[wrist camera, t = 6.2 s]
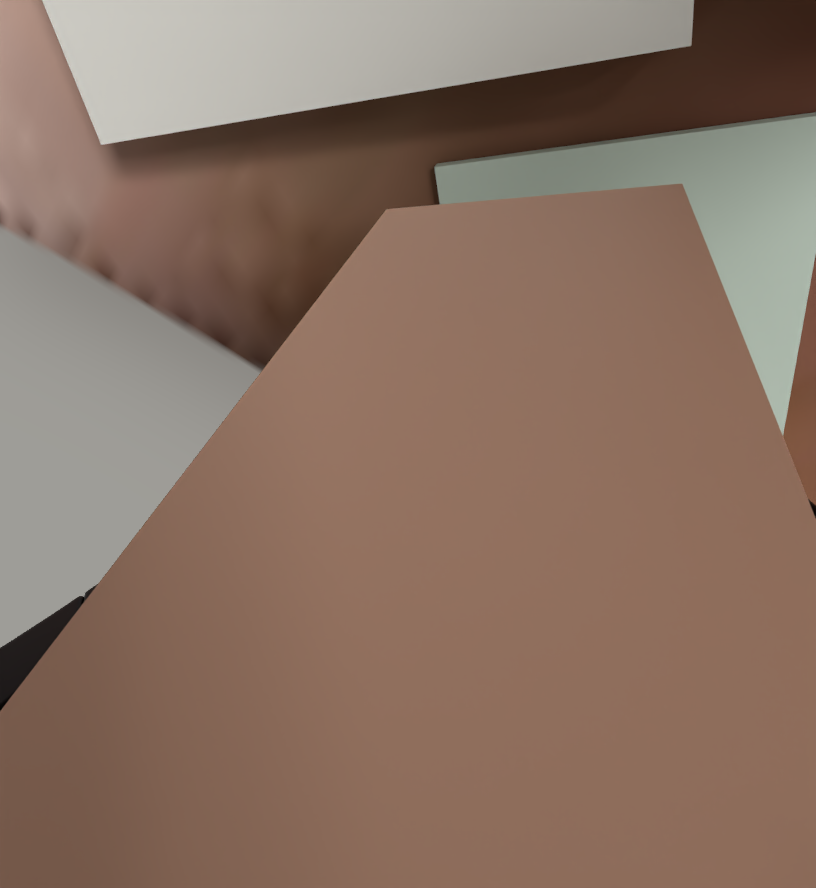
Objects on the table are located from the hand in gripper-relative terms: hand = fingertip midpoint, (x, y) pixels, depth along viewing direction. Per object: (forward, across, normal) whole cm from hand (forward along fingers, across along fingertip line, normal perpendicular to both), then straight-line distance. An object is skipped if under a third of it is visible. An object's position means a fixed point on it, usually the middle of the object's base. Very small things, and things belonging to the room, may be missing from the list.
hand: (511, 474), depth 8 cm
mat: (+13, -2, +4) cm, 14 cm away
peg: (+4, 0, 0) cm, 4 cm away
